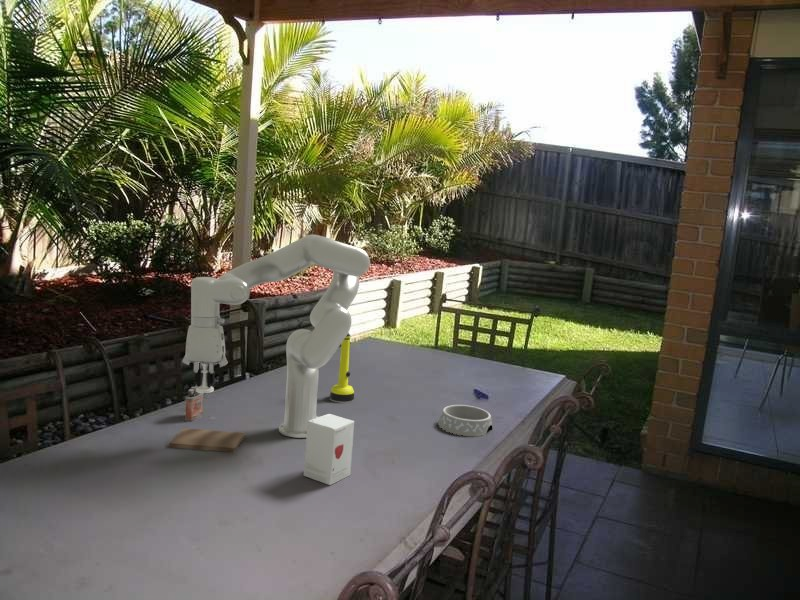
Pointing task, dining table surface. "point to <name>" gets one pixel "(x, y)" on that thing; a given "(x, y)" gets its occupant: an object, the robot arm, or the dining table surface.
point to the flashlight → (343, 376)
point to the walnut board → (207, 440)
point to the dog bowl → (465, 420)
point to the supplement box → (328, 448)
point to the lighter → (193, 405)
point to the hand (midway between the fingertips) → (205, 385)
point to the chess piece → (204, 380)
